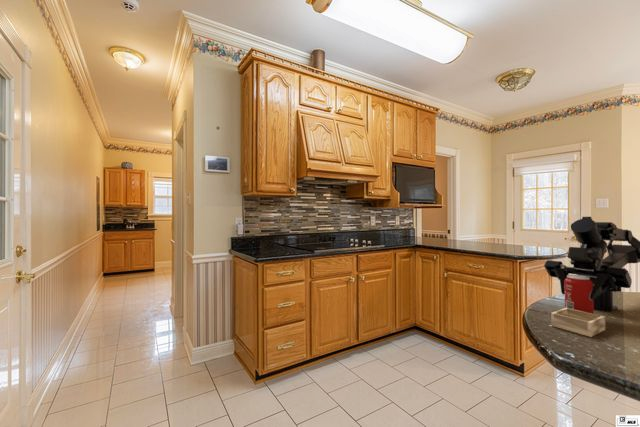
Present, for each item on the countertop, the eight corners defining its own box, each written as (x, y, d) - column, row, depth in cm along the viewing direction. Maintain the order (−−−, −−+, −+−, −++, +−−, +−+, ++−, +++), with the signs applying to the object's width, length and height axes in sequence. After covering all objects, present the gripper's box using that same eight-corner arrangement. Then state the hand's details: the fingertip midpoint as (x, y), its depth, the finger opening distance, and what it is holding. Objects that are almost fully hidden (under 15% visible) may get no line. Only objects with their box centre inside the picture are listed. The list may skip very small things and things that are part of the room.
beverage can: (599, 322, 81) (598, 279, 81) (573, 321, 82) (572, 279, 82) (584, 314, 87) (583, 274, 87) (560, 313, 88) (559, 274, 88)
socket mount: (566, 319, 83) (565, 307, 83) (605, 329, 76) (604, 316, 76) (551, 325, 79) (551, 313, 79) (591, 336, 72) (590, 322, 72)
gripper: (546, 235, 94) (529, 273, 89) (627, 239, 78) (613, 285, 73) (557, 257, 98) (542, 294, 93) (637, 264, 82) (624, 311, 77)
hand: (576, 296), depth 84 cm, fingers closed on beverage can, 6 cm apart
